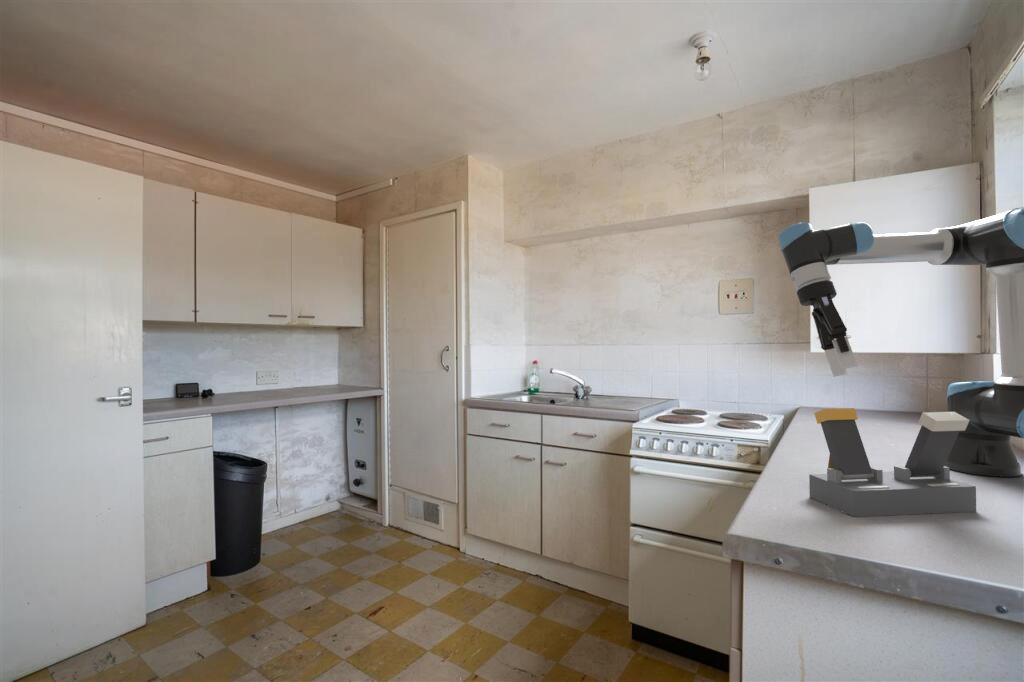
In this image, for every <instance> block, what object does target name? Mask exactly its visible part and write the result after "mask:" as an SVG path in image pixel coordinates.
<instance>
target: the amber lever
mask: <svg viewBox="0 0 1024 682" xmlns="http://www.w3.org/2000/svg"><path fill="white" fill-rule="evenodd" d="M813 414H814V415H815V420H816V423H817V424H819V425H820V424H821V428H822V431H823V435H824V439H825V442H826V444H827V448H828V452H829V456H830V455H831V459H832V462H833V465H834V468H835V469H836V470H839V471H841V475H842V480H856V479H873V478H874V473H873V472H872V470H871V467H872V466H871V465H870V461H869V457H868V456H867V452H866V449H865V446H864V444H863V443H864V442H863V441H862V437H861V435H860V431H859V429H858V426H857V423H856V421H857V420H859V417H858V415H857V412H856V409H855V408H854V407H853V408H850V407H848V408H823V409H821V410H818V411H815V412H814V413H813Z"/></svg>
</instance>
